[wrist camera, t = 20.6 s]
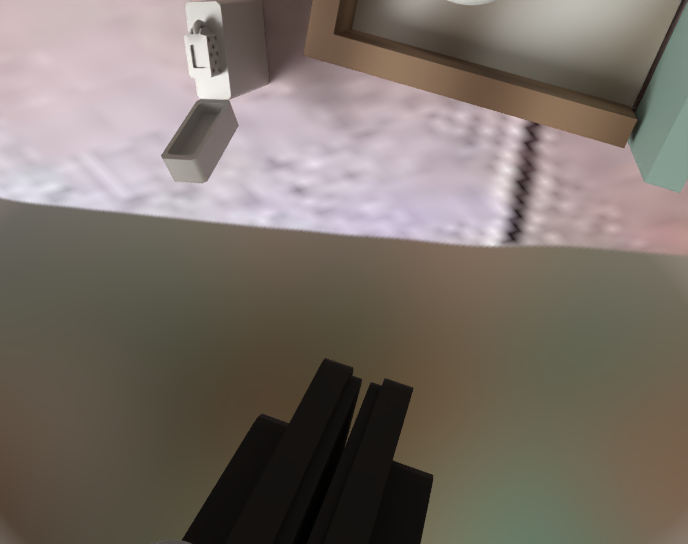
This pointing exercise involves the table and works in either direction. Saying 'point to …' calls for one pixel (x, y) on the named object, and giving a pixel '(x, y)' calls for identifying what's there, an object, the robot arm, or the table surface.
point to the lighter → (217, 81)
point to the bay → (505, 54)
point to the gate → (665, 117)
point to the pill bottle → (472, 2)
